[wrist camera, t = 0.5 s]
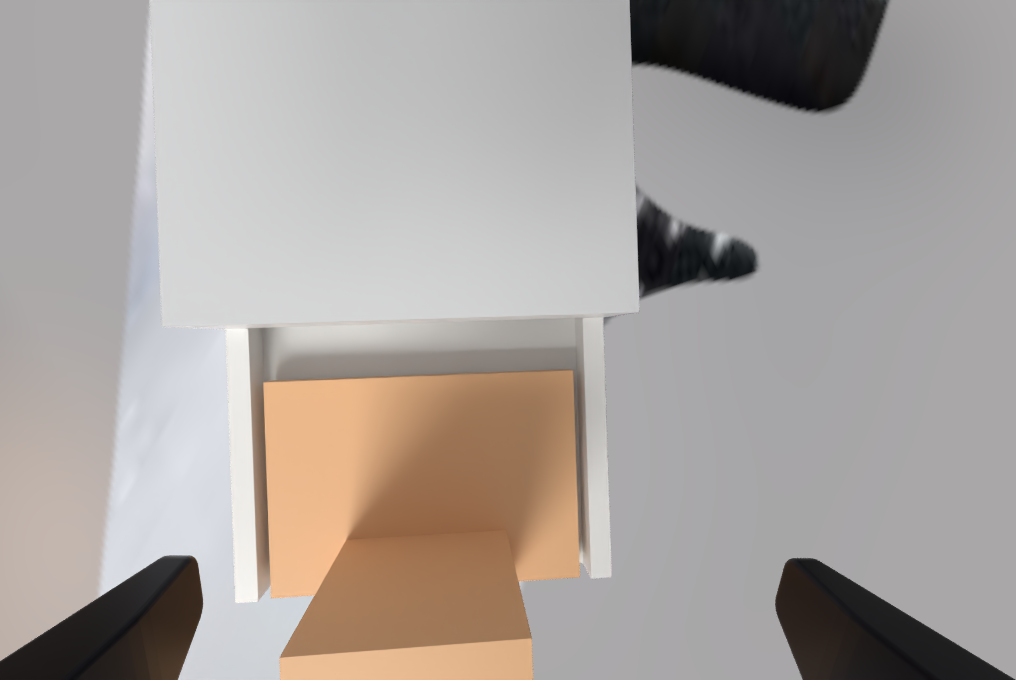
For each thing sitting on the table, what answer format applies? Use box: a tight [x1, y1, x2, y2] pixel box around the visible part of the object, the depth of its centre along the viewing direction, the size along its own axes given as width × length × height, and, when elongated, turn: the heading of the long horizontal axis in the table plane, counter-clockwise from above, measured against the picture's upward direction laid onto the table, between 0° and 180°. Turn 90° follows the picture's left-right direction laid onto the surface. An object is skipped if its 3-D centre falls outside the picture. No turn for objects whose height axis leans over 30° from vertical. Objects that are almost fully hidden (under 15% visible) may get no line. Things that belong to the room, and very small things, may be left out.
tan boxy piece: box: [263, 369, 580, 680], centre depth 18 cm, size 8×12×9 cm
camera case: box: [150, 0, 639, 603], centre depth 22 cm, size 22×14×9 cm, turn 2°
